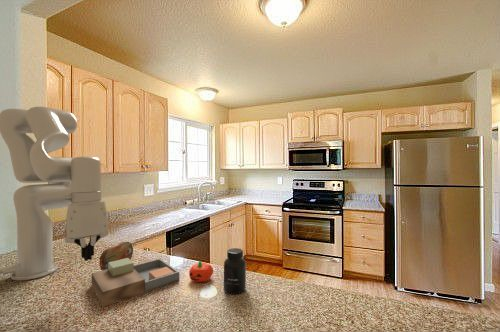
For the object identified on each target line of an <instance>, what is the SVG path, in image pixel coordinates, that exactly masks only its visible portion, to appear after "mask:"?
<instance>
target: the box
mask: <svg viewBox="0 0 500 332" xmlns="http://www.w3.org/2000/svg"><path fill="white" fill-rule="evenodd" d="M164 267H168V268H169V269H170V270H172V271H173V272H174V273H171V274H168V275H165V276H162V277H158V278H155V279H152V280H149V272H150V271H153V270H157V269H160V268H164ZM134 269H135V270H136V271H137V272H138V273H139V274H140V275H141V276H142V277H143V278H144V279H145V293H148V292H151V291H154V290H157V289H159V288H163V287H165V286H168V285H172V284H174V283H177V282H179V281H180V270H177V269H176V268H175V267H173V266H172V265H170V264H169V263H167V262H166V261H164V260H163V259H161V258H157V259H152V260H149V261H145V262H142V263H138V264H134Z"/></svg>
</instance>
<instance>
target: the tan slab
mask: <svg viewBox="0 0 500 332" xmlns="http://www.w3.org/2000/svg"><path fill="white" fill-rule="evenodd" d="M91 287H92V289H93V291H94V293H95V295H96V297H97V298H98V300H99V302H100V304H101V306H102V307H103V308H105V307H107V306H110V305H113V304H116V303H119V302H121V301H122V302H123V301H125V300H128V299H130V298H133V297H136V296H139V295H142V294H145V293H146V292H145V279H144V278H143V277H142V276H141V275H140V274H139V273H138V272H137V271H136V270H135V269H134V270H133V271H130V272H126V273H123V274H119V275H115V276H113V275H112V274H111V273H110V272H109V270H108V269H106V270H99V271H95V272H92V273H91Z"/></svg>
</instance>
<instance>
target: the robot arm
mask: <svg viewBox="0 0 500 332" xmlns="http://www.w3.org/2000/svg"><path fill="white" fill-rule="evenodd" d="M77 128H78V121H77V118H76V116H75V115H74V113H72V112H70V111H68V110H64V109H58V108H52V107H47V106H33V107H30V108H28V109H23V108H6V109H4V110H2V111H0V135H1V138H2V139H3V141H4V143H5V144H6V146H7V148H8V150H9V156H10V161H11V165H12V169H13V173H14V174H13V175H14V177H15V179H16V180H17V182H20V183H23V184H28V185H23V186H21V187H18V188H17V189H16V190H15V191H14V193H13V198H12V200H13V203H14V205H13V206H14V208H15V214H16V227H17V229H16V232H17V233H16V236H17V238H16V240H17V241H16V246H17V247H16V261H15V264H12V265H11V266H10V265H9V266H3V267H0V275H1V274H3V276H4V275H9V274H10V279H11V280H13V281H27V280H32V279H34V280H35V279H38V278H42V277H45V276H48V275H49V274H52V273H54V272H56V271H57V270H58V268H59V264H58V263H55V262H54V261H53V253H54V251H53V248H54V247H53V240H54V239H53V238H54V237H53V236H54V235H53V233H54V232H53V225H54V224H53V220H52V218H51V217H50V216H49V215H48V214H47V213H46V212H45V211H48V210H55V209H63V208H67V211H66V217H65V221H66V222H65V233H66V236H65V238H64V242H65V243H67V244H76V245H78V246H79V247H80V248H81V249H80V250H81V251H80V253H81V255H80V256H81V258H82V259H84V261H88V260H89V261H91V260H93V256H95V246H96V244H97V242H98V241H99V240H100V239H102V238H105V237H107V236H108V235H109V232H108V230H109V222H108V213H107V207H106V202H105V200H102V171H101V170H102V162H101V159H100V158H99V157H96V156H76V157H71V156H70V157H68V156H67V157H66V156H65V157H64V156H49V155H48V153H52V152H53V153H54V152H56V151H58V150H60V149H63V148H65V147H66V146H67V145H68V144H69V142H70V134H73V133H74V132H76V131H77ZM28 134H33V135H34V137H35V139H36V141H35V140H34V139H33V138H32V137H31V136H29V135H28ZM86 238H89V240H88V242H87V243H86Z"/></svg>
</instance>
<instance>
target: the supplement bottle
mask: <svg viewBox="0 0 500 332" xmlns="http://www.w3.org/2000/svg"><path fill="white" fill-rule="evenodd" d="M226 256H227V258H225V260H224V262H223V290H224V292H225V293H226V294H228V295H240V294H243V293H244V292H245V291H246V287H247V284H246V281H247V277H246V276H247V262H246V259H244V251H243V249H242V248H237V247H236V248H235V247H233V248H229V249H228V250H227V254H226Z"/></svg>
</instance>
